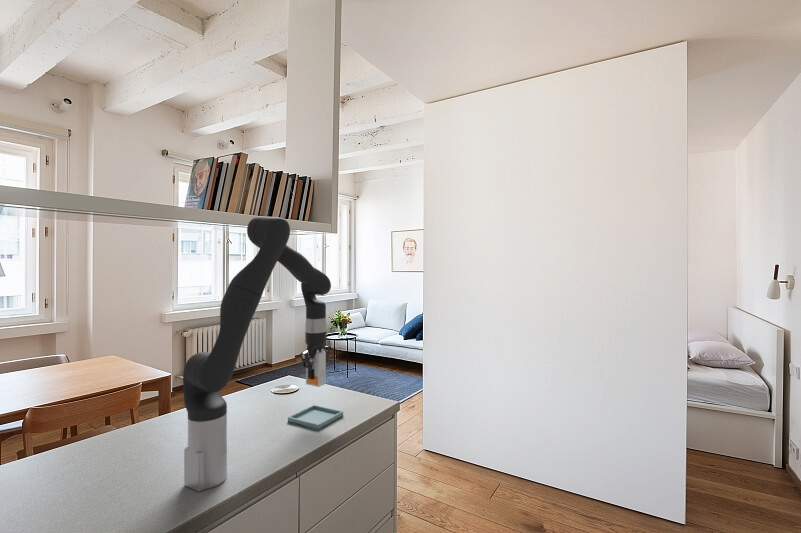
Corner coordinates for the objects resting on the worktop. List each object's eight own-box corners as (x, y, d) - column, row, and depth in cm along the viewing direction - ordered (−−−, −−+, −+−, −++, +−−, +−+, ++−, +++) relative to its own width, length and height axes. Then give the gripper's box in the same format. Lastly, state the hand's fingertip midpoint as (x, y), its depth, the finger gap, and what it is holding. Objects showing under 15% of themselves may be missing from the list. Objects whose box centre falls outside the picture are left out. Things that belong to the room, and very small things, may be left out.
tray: (318, 430, 135) (318, 425, 135) (287, 422, 142) (287, 417, 142) (343, 416, 148) (343, 411, 148) (314, 409, 154) (314, 404, 154)
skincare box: (305, 384, 144) (305, 351, 144) (313, 381, 148) (313, 349, 148) (318, 387, 141) (318, 353, 141) (326, 384, 145) (326, 351, 145)
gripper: (310, 334, 136) (310, 384, 137) (336, 328, 149) (336, 373, 149) (294, 332, 140) (294, 381, 140) (320, 326, 152) (320, 371, 153)
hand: (315, 377), depth 145 cm, fingers closed on skincare box, 4 cm apart
